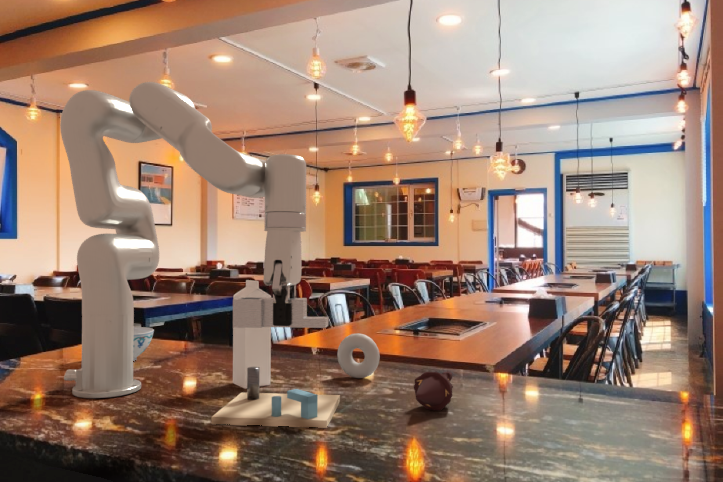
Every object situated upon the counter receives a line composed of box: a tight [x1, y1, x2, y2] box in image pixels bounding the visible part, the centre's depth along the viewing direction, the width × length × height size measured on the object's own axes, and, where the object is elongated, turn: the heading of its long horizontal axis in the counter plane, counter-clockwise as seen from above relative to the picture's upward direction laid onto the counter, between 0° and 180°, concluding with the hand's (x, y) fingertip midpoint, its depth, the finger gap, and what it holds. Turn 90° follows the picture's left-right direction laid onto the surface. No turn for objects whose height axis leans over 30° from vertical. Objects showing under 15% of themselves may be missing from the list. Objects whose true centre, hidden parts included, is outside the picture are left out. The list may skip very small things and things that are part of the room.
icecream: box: [413, 370, 454, 412], centre depth 102 cm, size 7×7×15 cm
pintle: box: [246, 367, 260, 400], centre depth 104 cm, size 2×2×6 cm
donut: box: [336, 333, 381, 379], centre depth 126 cm, size 10×4×10 cm, turn 68°
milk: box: [232, 279, 272, 389], centre depth 120 cm, size 6×6×22 cm
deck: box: [210, 392, 341, 429], centre depth 99 cm, size 19×16×1 cm
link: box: [232, 297, 329, 329], centre depth 103 cm, size 17×5×5 cm, turn 84°
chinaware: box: [133, 326, 155, 362], centre depth 145 cm, size 15×15×8 cm
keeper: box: [271, 388, 319, 419], centre depth 93 cm, size 6×5×5 cm
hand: (284, 323), depth 103 cm, fingers closed on link, 3 cm apart
